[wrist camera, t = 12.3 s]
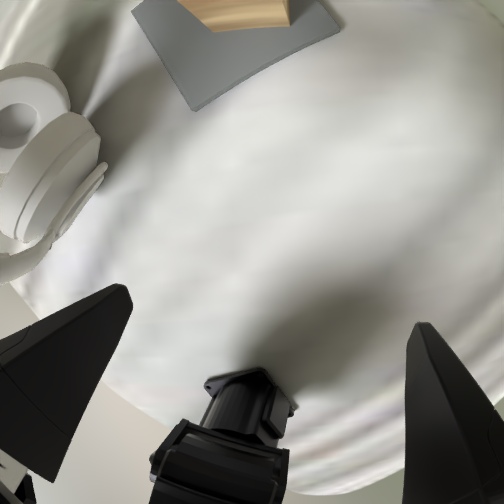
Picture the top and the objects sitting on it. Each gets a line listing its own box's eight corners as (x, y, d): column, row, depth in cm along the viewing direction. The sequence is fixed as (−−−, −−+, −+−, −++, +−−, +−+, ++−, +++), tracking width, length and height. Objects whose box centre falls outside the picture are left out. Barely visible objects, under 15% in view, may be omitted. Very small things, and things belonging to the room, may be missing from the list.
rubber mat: (196, 111, 18) (191, 110, 17) (136, 14, 16) (130, 11, 15) (339, 32, 14) (340, 27, 13) (253, -58, 12) (251, -64, 11)
